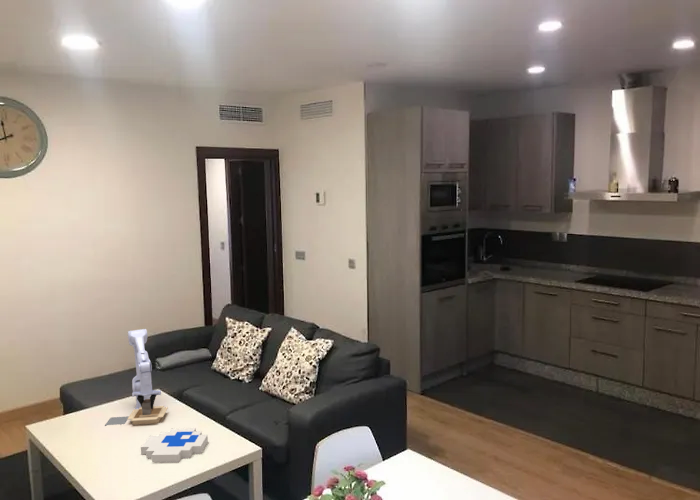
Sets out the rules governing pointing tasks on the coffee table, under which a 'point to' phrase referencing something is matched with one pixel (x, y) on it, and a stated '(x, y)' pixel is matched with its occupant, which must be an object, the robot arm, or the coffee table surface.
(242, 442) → the coffee table surface
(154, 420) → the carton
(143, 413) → the walnut block
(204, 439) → the pixel art tile
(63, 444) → the coffee table surface
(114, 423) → the slate mat
